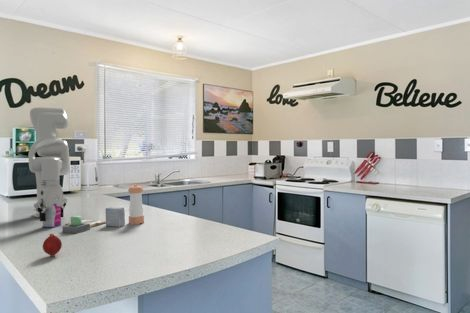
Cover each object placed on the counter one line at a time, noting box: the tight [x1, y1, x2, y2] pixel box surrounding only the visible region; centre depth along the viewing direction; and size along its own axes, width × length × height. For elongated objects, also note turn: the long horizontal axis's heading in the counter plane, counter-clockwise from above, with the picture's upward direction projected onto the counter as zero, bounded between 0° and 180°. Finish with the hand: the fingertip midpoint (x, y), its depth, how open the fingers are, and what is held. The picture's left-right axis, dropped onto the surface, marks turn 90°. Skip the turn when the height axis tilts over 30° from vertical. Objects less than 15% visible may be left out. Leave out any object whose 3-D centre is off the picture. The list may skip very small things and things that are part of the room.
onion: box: [42, 233, 63, 257], centre depth 119 cm, size 6×6×8 cm
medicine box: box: [104, 206, 126, 228], centre depth 164 cm, size 8×4×9 cm, turn 71°
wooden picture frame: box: [64, 219, 106, 229], centre depth 168 cm, size 16×11×1 cm
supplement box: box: [42, 204, 62, 229], centre depth 163 cm, size 6×6×12 cm
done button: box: [70, 215, 82, 227], centre depth 155 cm, size 4×4×5 cm
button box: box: [61, 223, 91, 234], centre depth 155 cm, size 8×8×2 cm
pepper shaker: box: [127, 183, 145, 225], centre depth 169 cm, size 7×7×19 cm
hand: (51, 219), depth 163 cm, fingers open, 9 cm apart
